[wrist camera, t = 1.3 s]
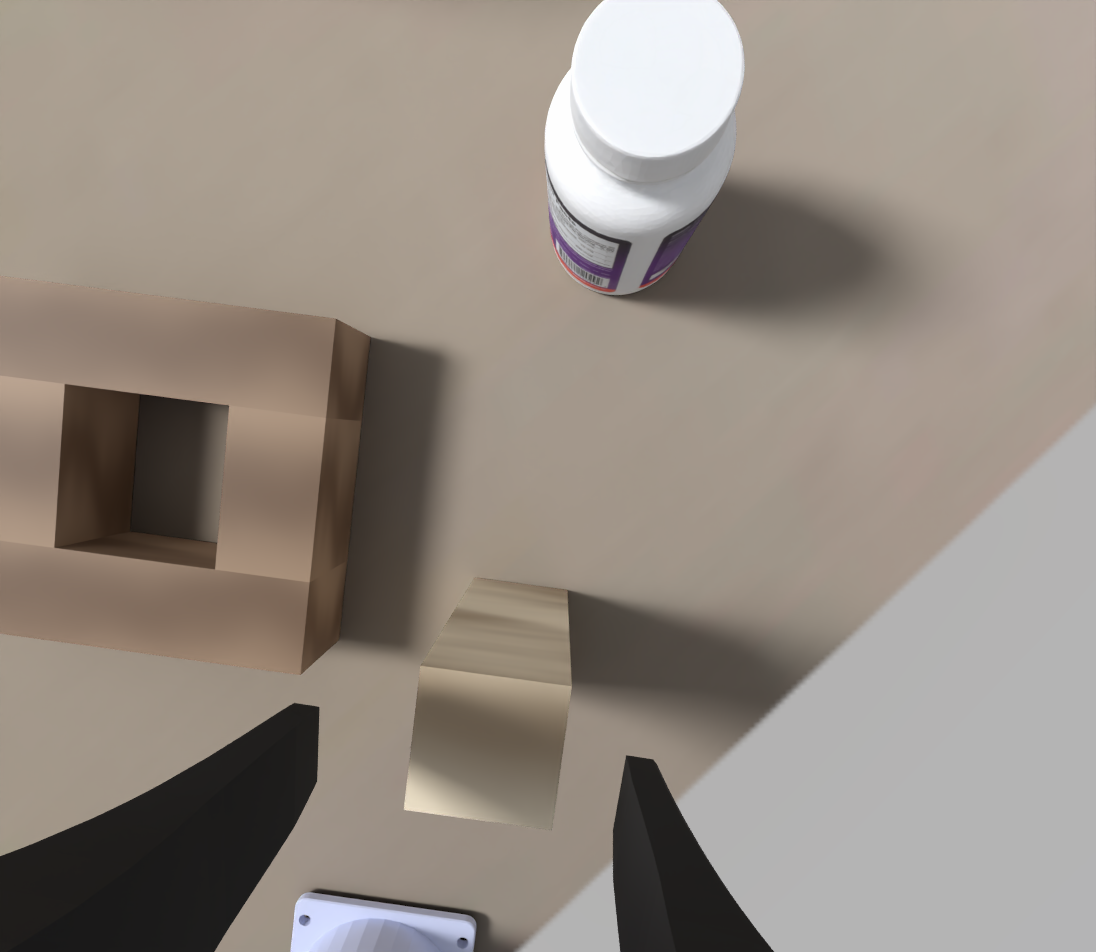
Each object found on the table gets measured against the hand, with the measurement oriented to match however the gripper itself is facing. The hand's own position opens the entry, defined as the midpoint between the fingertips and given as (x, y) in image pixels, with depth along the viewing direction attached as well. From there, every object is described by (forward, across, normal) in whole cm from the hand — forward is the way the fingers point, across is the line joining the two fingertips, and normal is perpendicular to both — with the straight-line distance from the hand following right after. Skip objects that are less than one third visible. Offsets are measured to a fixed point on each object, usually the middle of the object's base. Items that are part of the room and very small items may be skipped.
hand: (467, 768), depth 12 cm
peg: (+11, 0, +2) cm, 11 cm away
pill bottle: (+14, -2, -14) cm, 20 cm away
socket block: (+11, +14, -3) cm, 18 cm away
